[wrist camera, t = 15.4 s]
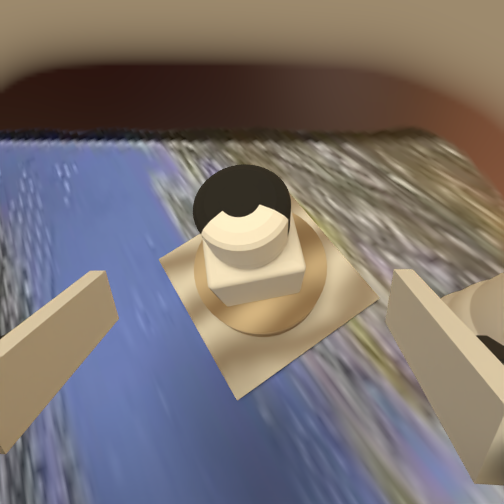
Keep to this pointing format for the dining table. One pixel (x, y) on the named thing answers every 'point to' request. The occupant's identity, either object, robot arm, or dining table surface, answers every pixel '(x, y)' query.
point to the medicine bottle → (248, 235)
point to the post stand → (270, 308)
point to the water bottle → (481, 307)
